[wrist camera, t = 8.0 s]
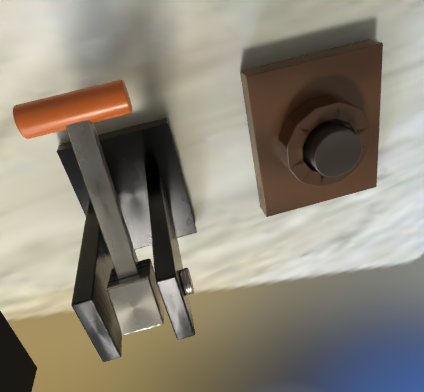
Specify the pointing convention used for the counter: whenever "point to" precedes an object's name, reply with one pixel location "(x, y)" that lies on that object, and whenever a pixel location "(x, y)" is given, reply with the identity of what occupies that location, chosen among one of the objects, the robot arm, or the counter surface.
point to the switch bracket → (134, 228)
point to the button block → (312, 122)
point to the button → (333, 149)
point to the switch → (101, 192)
